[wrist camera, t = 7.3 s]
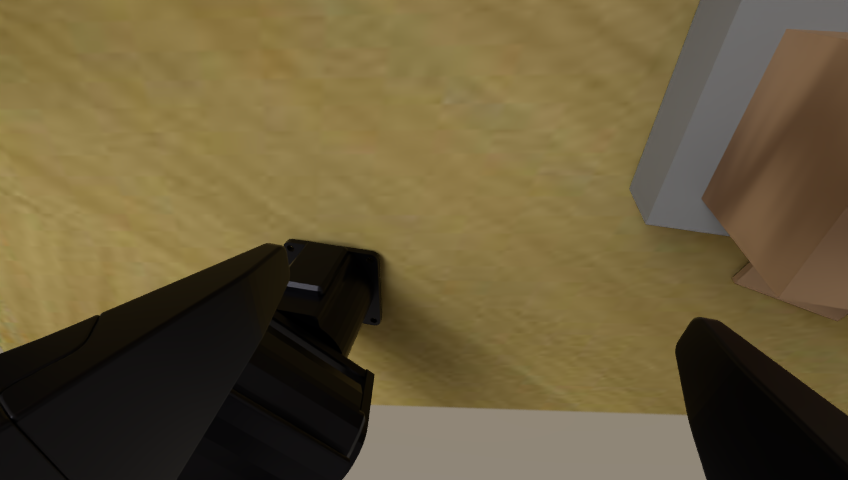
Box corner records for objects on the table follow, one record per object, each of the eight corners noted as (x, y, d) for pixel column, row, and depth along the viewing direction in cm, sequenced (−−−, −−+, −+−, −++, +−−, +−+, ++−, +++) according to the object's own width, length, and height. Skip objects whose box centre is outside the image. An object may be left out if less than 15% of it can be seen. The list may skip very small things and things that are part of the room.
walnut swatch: (832, 316, 21) (837, 321, 21) (731, 278, 21) (734, 283, 21) (952, 232, 18) (960, 237, 17) (831, 187, 18) (837, 191, 17)
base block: (835, 215, 18) (892, 259, 15) (629, 188, 19) (645, 224, 16) (1010, -19, 13) (1147, -19, 10) (711, -30, 14) (755, -33, 11)
